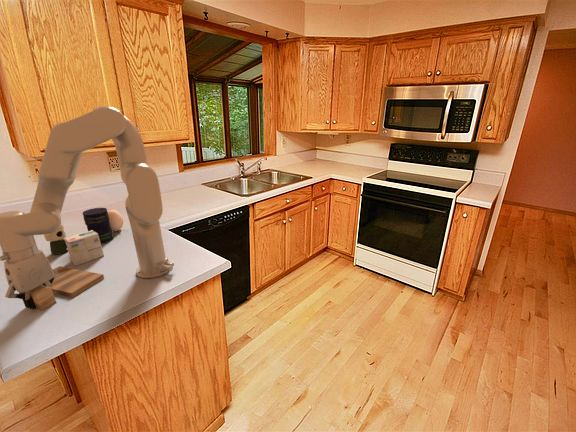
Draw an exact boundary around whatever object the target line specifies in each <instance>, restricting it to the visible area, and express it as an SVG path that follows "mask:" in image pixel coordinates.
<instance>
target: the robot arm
mask: <svg viewBox="0 0 576 432" xmlns="http://www.w3.org/2000/svg"><path fill="white" fill-rule="evenodd" d="M110 140H111V141H112V142H113V144H114V147H115V151H116V156H117V160H118V165H119V170H120V171H119V173H120V177H121V181H122V182H123V183H124V184H125V186H126V189H127V194H128V195H127V197H126V198H125V211H126V215H127V217H128V220H129V225H130V229H131V233H132V238H133V242H134V243H133V244H134V248H135V251H136V256H137V257H136V258H137V261H138V267H137V268H136V269H135V273H136V276H137V277H139V278H141V279H154V278H157V277H161V276H163V275H165V274H167V273H168V272H171V271H173V268H174V266H175V263H174V262H171V261H170V260H169V258H168V257H166V252H165V245H164V240H163V236H162V229H161V223H160V219H161V217H162V215H163V211H164V210H163V202H162V195H161V190H160V189H161V187H160V182H159V178H158V175H157V173H156V171H155V170H154V169H153V168H152V167H151V166H150V165H149V163H148V158H147V154H146V149H145V144H144V141H143V137H142V135H141V133H140V132H139V129H138V128H137V127H136V125H135V124H134V123H133V122H132V121H131V120H130V119H129V118H128V117H127V116H125V115H124V114H123V113H122V112H121V111H120V110H119V109H118V108H115V107H113V106H108V105H107V106H106V105H103V106H97V107H96V108H94V109H92V111H89V112H87V113H85V114H82V115H80V116H77V117H75V118H72V119H70V120H67V121H63V122H58V123H56V124H55V125H53V126H52V128H51V130H50V132H49V135H48V137H47V142H46V146H45V150H44V154H43V157H42V161H41V164H40V167H39V170H38V181H37V182H38V183H37V187H36V191H35V194H34V198H33V201H32V204H31V208H30V210H29V212H28V213H25V212H24V211H20V210H12V211H6V212H5V211H4V212H2V213H0V248H1V249H0V250H1V251H2V255H1V256H0V262H3V264H4V265H3V266H4V273H5V274H4V275H5V278H6V281H7V285H8V288H7V290H6V292H5V296H4V297H5V298H7V299H19V300H22V302H23V305H24V307H25V308H26V309H30V310H34V309H36V306H35V303H34V301H33V298H30V290H32V289H34V288H36V287H38V286H40V285H44V286H48V287H52V282H53V280H54V278H55V277H56V275H57V274H58V272H57V271H55V270H53V269H54V268H53V267H52V265H51V263H50V261H49V259H48V258H47V256H46V255H45V253H44V251H43V250H40V249H39V248H38V245H37V243H36V239H35V236H42V235H44V234H50V233H53V232H55V231H56V230H58V229H59V227H60V225H61V223H62V218H61V217H62V216H61V215H62V214H61V213H62V211H63V207H64V203H65V200H66V196H67V193H68V191H69V189H70V188H71V186H72V184H73V183H74V182H75V179H76V178H77V177H76V176H77V172H78V170H79V167H80V166H79V165H80V163H81V160H82V156H83V153H84V152H86V151H88V150H91V149H93V148H95V147H97V146H100V145H102V144H104V143H106V142H108V141H110Z"/></svg>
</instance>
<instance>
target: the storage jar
mask: <svg viewBox="0 0 576 432" xmlns="http://www.w3.org/2000/svg"><path fill="white" fill-rule="evenodd" d="M82 216H83V220H84V225H85V226H86V228H87V231H91V230H93V231H95V232H96V233H98V236H99V239H100V243H101V245H103V244H107V243H110V242H111V241H114V239H115V237H114V231H112V228H111V226H110V222H109V220H110V218H109V215H108V209H107V208H106V207H94V208H89V209H87V210H83V212H82Z"/></svg>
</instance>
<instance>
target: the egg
mask: <svg viewBox="0 0 576 432" xmlns="http://www.w3.org/2000/svg"><path fill="white" fill-rule="evenodd" d="M107 212H108V215H109V218H110V220H109V222H110V226H111V228H112V231H113V232H118V231H120V230H121V229H122V228H123V226H124V218H123V217H122V215H121V213H119V212H118V211H117V210H115V209H111V210H107Z"/></svg>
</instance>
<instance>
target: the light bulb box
mask: <svg viewBox="0 0 576 432" xmlns="http://www.w3.org/2000/svg"><path fill="white" fill-rule="evenodd" d="M63 239H64V240H65V242H66V245H67V252H68V254H69V257H70V260H71V262H72V264H74V266H78V265H83V264H84V263H88V262H90V261H93V260H97V259H99V258H102V257H104V256H105V255H104V250H103V247H102V244H101V243H100V239H99V236H98V233H96V232H95V231H93V230H91V231H88V230H87V231H85V232H81V233H78V234H74V235H71V236H66V237H65V238H63Z"/></svg>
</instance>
